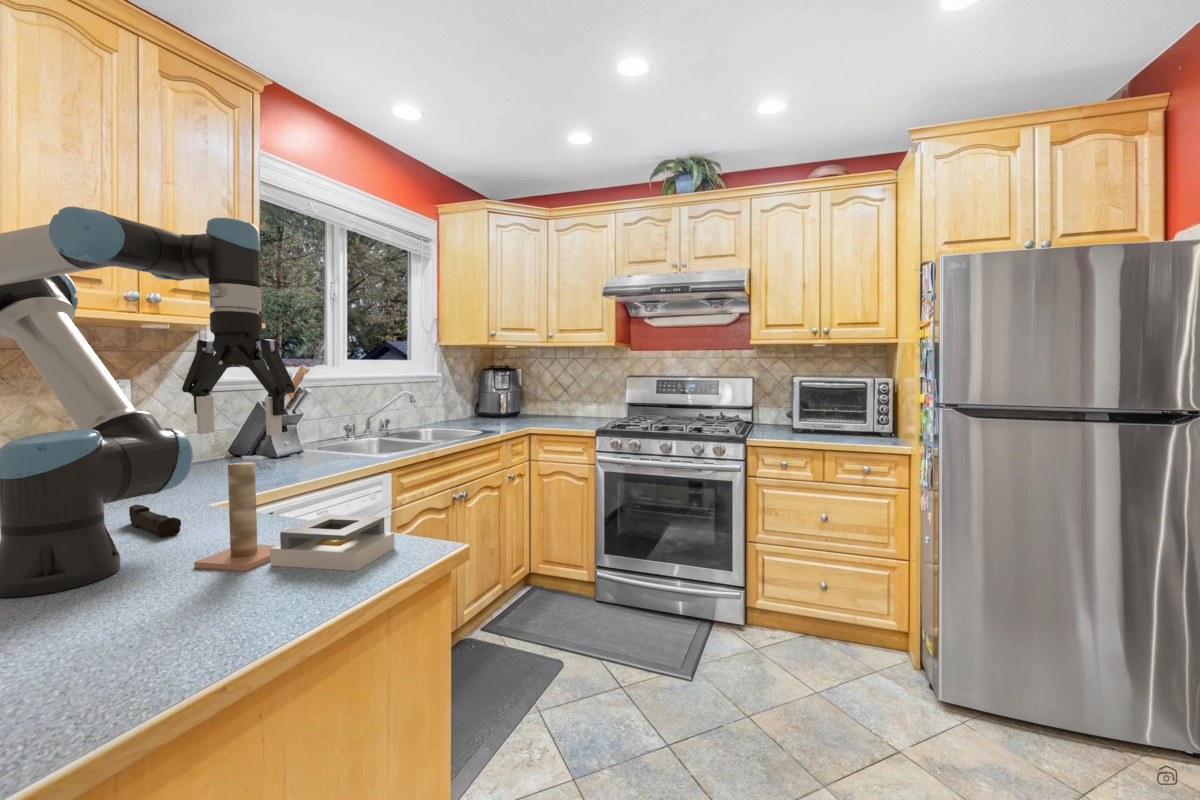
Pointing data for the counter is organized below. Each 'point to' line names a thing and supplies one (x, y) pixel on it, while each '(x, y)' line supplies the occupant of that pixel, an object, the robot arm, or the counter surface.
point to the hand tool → (154, 521)
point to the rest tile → (235, 560)
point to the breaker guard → (307, 552)
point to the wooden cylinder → (242, 509)
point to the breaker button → (333, 542)
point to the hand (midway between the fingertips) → (239, 434)
